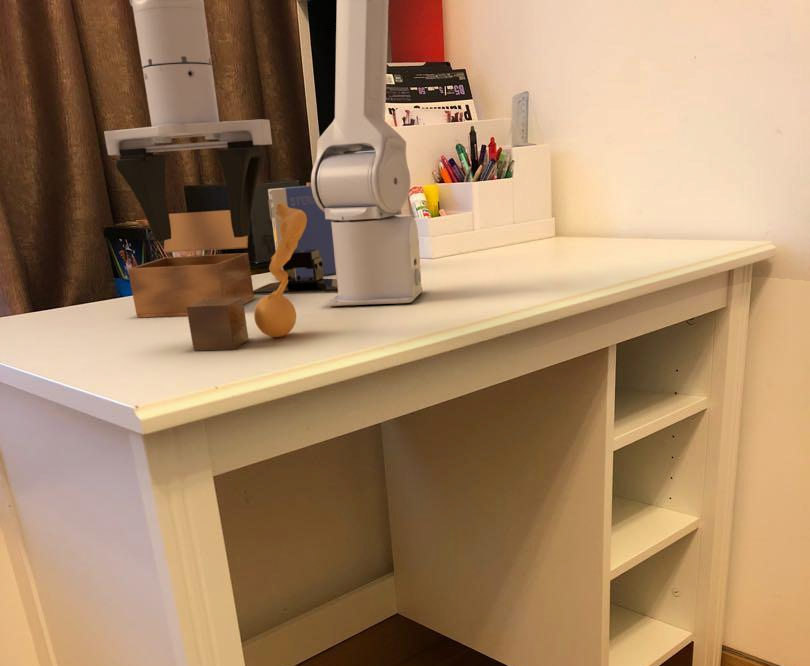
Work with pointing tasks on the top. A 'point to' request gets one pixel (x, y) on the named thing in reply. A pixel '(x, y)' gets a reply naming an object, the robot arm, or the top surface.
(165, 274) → the carton
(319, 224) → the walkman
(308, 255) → the black angular piece
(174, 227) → the flap
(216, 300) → the block
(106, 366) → the top surface
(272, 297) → the figurine
